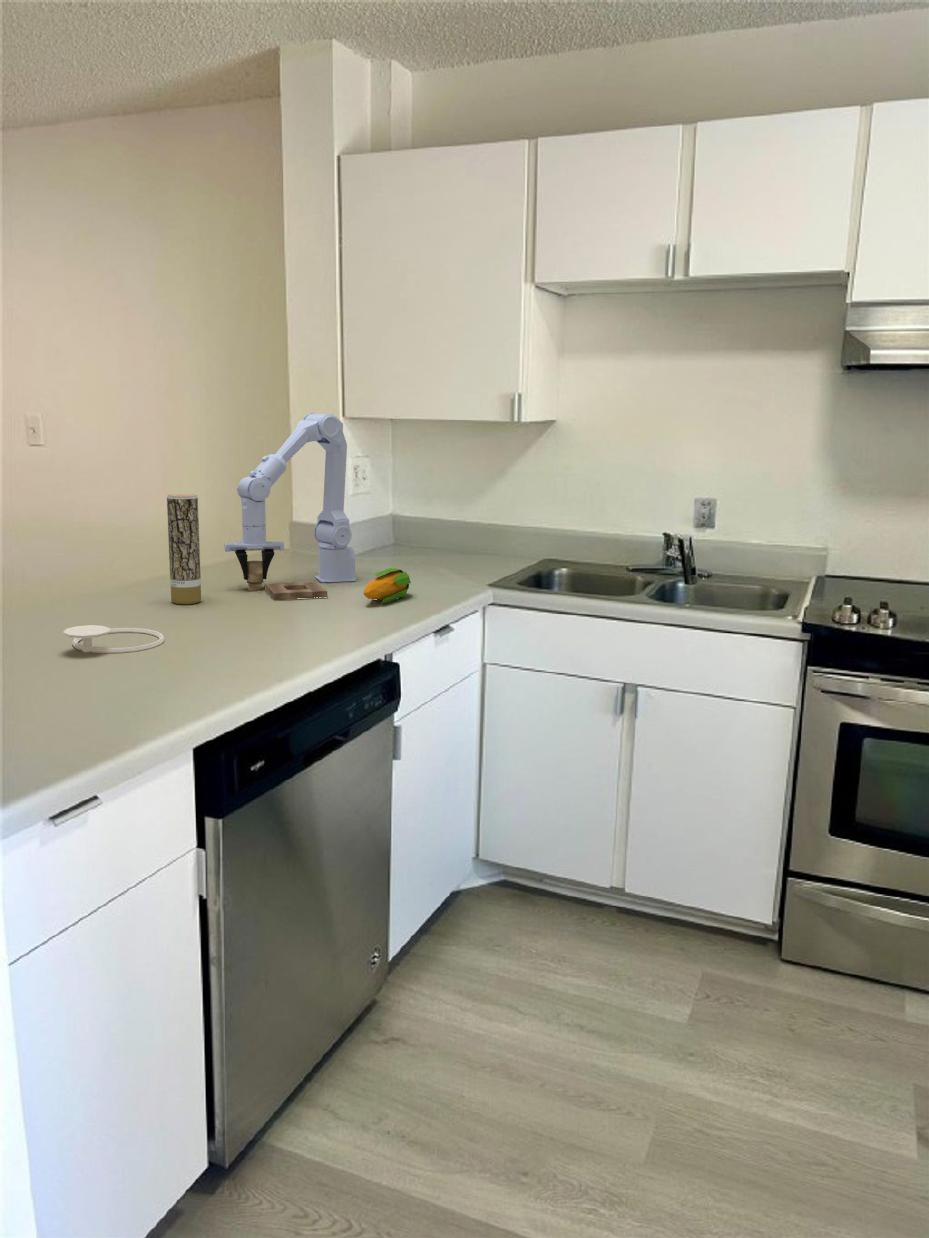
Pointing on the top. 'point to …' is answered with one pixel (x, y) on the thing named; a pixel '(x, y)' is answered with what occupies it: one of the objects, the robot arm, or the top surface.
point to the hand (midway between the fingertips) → (255, 578)
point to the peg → (255, 575)
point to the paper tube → (184, 548)
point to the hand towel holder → (96, 631)
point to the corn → (388, 585)
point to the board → (295, 590)
